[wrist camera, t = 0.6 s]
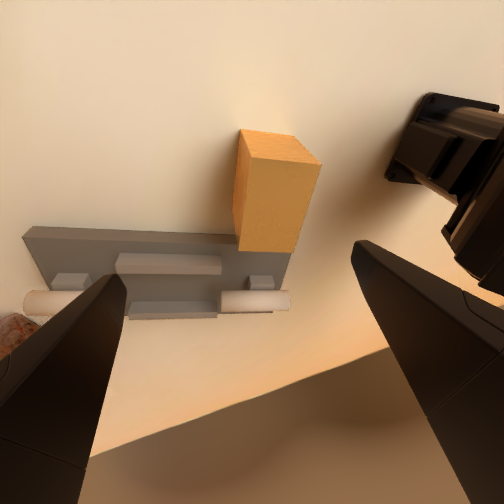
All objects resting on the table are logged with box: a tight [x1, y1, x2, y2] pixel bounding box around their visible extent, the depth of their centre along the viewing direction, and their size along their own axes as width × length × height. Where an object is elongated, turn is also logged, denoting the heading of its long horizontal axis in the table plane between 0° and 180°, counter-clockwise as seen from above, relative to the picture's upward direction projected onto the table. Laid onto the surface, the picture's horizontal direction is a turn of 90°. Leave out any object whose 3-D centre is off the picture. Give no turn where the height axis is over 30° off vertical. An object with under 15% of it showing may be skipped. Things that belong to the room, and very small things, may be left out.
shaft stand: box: [22, 226, 291, 320], centre depth 23 cm, size 22×10×5 cm, turn 82°
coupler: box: [232, 129, 322, 253], centre depth 18 cm, size 6×4×6 cm, turn 172°
